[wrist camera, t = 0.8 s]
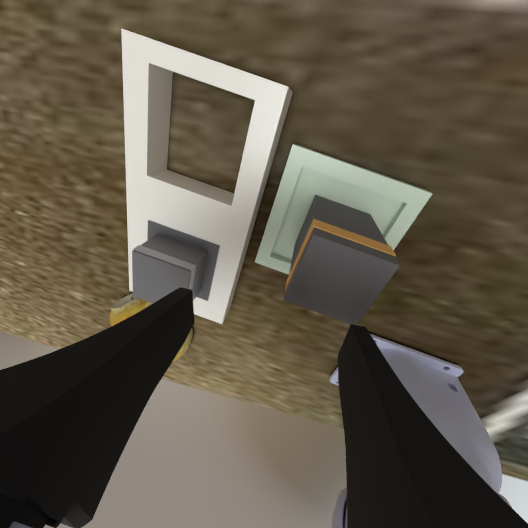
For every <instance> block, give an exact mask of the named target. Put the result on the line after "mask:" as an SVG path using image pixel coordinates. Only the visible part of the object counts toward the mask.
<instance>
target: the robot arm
mask: <svg viewBox="0 0 528 528" xmlns="http://www.w3.org/2000/svg"><path fill="white" fill-rule="evenodd" d="M193 324H194V308H193V293H192V290H191V289H186V288H181V287H180V288H178V289H176V290H174V291H173V292H171V293H169V294H168V295H166V296H164V297H163V298H161V299H159V300H158V301H156V302H155V303H153V304H151V305H149V306H148V307H146V308H144V309H143V310H141V311H139V312H138V313H136V314H134V315H132V316H130V317H128V318H127V319H125V320H123V321H121V322H119V323H117V324H115V325H114V326H112V327H110V328H108V329H106V330H104V331H101V332H99V333H97V334H95V335H93V336H91V337H88V338H86V339H84V340H82V341H79V342H77V343H74V344H72V345H69V346H67V347H64V348H62V349H59V350H57V351H55V352H52V353H49V354H47V355H44V356H41V357H39V358H35V359H33V360H30V361H27V362H24V363H21V364H18V365H15V366H12V367H9V368H6V369H2V370H0V528H43V527H44V526H45V524H46V525H49V526H51V527H54V528H56V527H58V525H59V524H60V523H62V524H65V525H68V526H70V527H73V528H81V527H83V526H84V525H86V524H87V523H88V522H90V521H91V520H92V519H93V516H94V514H95V512H96V509H97V507H98V505H99V502H100V500H101V498H102V496H103V493H104V491H105V489H106V487H107V484H108V482H109V480H110V477H111V475H112V473H113V471H114V469H115V466H116V464H117V462H118V460H119V458H120V456H121V454H122V452H123V450H124V447H125V445H126V443H127V441H128V439H129V437H130V435H131V433H132V431H133V429H134V427H135V425H136V423H137V421H138V419H139V417H140V415H141V413H142V412H143V410H144V407H145V406H146V404H147V401H148V400H149V398H150V396H151V395H152V393H153V391H154V389H155V388H156V386H157V384H158V383H159V381H160V380H161V378H162V377H163V375H164V374H165V372H166V371H167V369H168V367H169V366H170V364H171V363H172V361H173V360H174V358H175V357H176V355H177V354H178V352H179V350H180V349H181V347H182V346H183V344H184V342H185V341H186V339H187V337H188V335H189V333H190V330H191V328H192V326H193ZM462 373H463V370H462V368H461V367H460V366H458V365H455V364H452V363H450V362H447V361H444V360H441V359H439V358H436V357H433V356H430V355H428V354H425V353H422V352H419V351H417V350H414V349H411V348H408V347H406V346H403V345H400V344H397V343H395V342H392V341H389V340H386V339H384V338H381V337H378V336H375V335H373V334H370V333H369V331H368V330H367V328H366V327H363V326H358V325H353V324H351V325H350V328H349V330H348V333H347V335H346V338H345V340H344V342H343V345H342V347H341V350H340V352H339V355H338V367H337V368H336V370H335V371H334V372H333V373H332V375H331V376H330V382H331V383H333V384H336V385H338V386H339V391H340V400H341V408H342V417H343V425H344V431H345V432H344V433H345V444H346V471H347V488H345V489H343V490H342V491H341V492H340V494H339V496H338V499H337V502H336V506H335V509H334V513H333V519H332V528H528V524H527V523H526V522H525V521H524V520H523V519H522V518H521V517H520V516H519V515H518V514H517V513H516V512H515V511H514V510H513V509H512V507H511V506H510V504H509V502H508V501H507V499H505V498H504V497H503V496H502V495H500V494H499V491H500V488H501V483H502V471H501V464H500V460H499V456H498V453H497V450H496V448H495V446H494V444H493V442H492V440H491V438H490V436H489V434H488V433H487V431H486V429H485V427H484V425H483V424H482V422H481V420H480V418H479V416H478V414H477V413H476V411H475V409H474V407H473V405H472V403H471V402H470V400H469V398H468V396H467V394H466V393H465V391H464V389H463V387H462V385H461V383H460V382H459V380H458V378H457V377H459V376H460V375H461V374H462Z"/></svg>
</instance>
